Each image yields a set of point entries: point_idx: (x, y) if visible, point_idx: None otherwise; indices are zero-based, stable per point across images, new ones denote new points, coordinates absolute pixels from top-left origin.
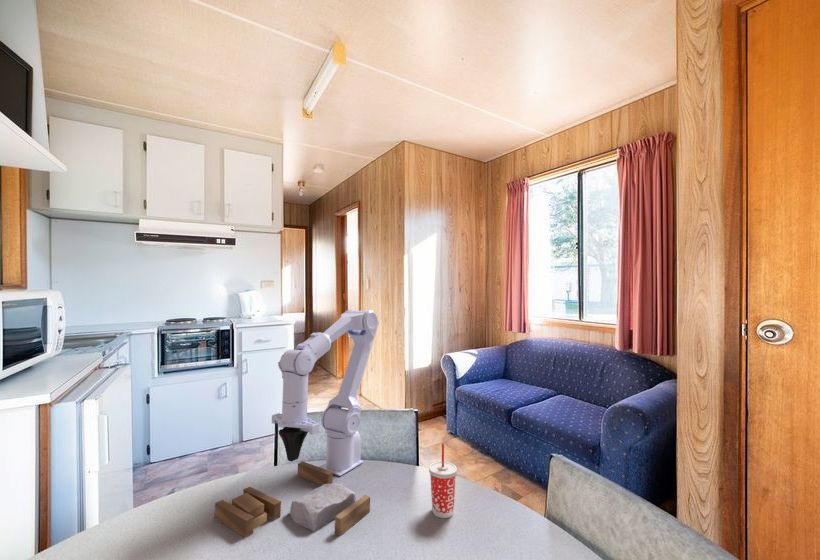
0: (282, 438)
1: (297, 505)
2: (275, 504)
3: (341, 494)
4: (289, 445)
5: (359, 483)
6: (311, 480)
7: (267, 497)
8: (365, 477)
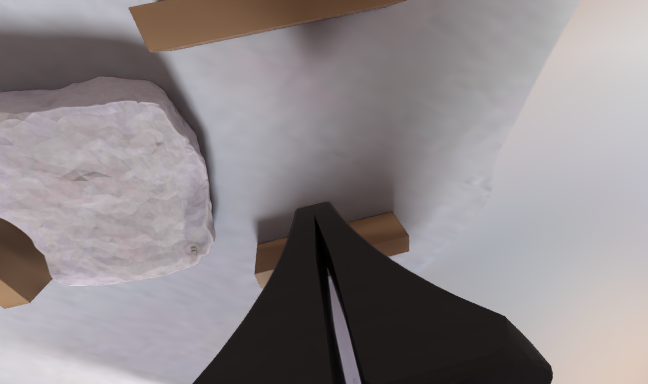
0: (411, 288)
1: (78, 99)
2: (131, 13)
3: (68, 255)
4: (295, 276)
5: (219, 304)
6: None
7: (233, 16)
8: (238, 322)
